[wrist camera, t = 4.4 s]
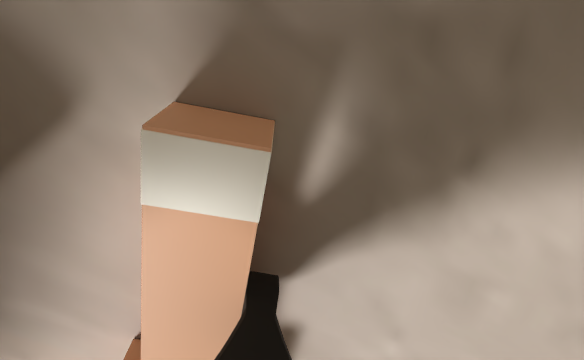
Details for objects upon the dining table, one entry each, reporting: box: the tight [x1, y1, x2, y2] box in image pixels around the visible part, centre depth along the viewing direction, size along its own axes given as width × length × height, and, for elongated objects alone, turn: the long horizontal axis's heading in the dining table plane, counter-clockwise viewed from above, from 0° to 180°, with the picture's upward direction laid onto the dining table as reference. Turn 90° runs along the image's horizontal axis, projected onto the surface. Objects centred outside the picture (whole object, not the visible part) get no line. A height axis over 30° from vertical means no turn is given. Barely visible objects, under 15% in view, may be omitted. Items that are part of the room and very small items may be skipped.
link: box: [124, 102, 275, 360], centre depth 12 cm, size 16×5×2 cm, turn 169°
